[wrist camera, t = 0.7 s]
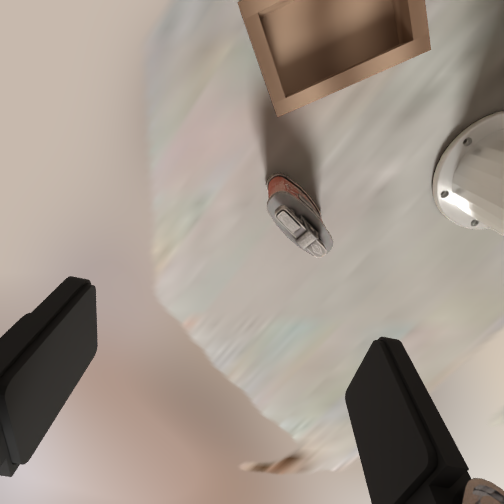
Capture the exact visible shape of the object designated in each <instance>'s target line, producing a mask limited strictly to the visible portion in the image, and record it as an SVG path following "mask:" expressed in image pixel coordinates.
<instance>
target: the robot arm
mask: <svg viewBox="0 0 504 504" xmlns="http://www.w3.org/2000/svg"><path fill="white" fill-rule="evenodd" d="M464 140H465V141H464ZM463 141H464V142H463ZM432 187H433V197H434V200H435V203H436V206H437V207H438V209H439V210H440V212H441V213H442V214H443V215H444V216H445V217H446V218H447V219H449V220H450V221H452V222H453V223H455V224H457V225H459V226H462V227H465V228H469V229H488V228H490V229H492V230H494V231H495V232H497V233H498V234H500V235H502V236H503V237H504V111H501V112H497V113H494V114H491V115H489V116H486V117H484V118H482V119H480V120H478V121H477V122H475V123H473V124H471V125H470V126H469V127H468V128H466V129H465V130H464V131H462V132H461V133H460V134H459V135H458V136H457V137H456V138H455V139H454V140H453V141H452V142H451V143H450V145H449V146H448V148H447V149H446V150H445V152H444V153H443V155H442V157H441V159H440V161H439V163H438V165H437V167H436V171H435V174H434V178H433V186H432ZM441 192H442V193H441ZM96 351H97V315H96V289H95V286H94V285H91V283H90V281H89V280H87V279H82V278H77V277H71V276H70V277H68V278H66V279H65V280H64V281H63V283H61V284H60V285H59V286H58V287H57V288H56V289H55V290H54V291H53V292H52V293H51V294H50V295H49V296H48V297H47V298H46V299H45V300H44V301H43V302H42V303H41V304H40V305H39V306H38V307H37V308H36V309H35V310H34V311H33V312H32V313H28V314H26V315H24V316H23V317H22V318H21V319H20V320H19V321H18V322H16V323H15V324H14V325H13V326H12V327H11V328H10V329H9V330H8V331H7V332H6V333H5V334H4V335H3V336H2V337H1V338H0V475H1V476H9V477H12V475H13V474H14V472H15V471H16V469H17V468H18V466H19V465H20V464H25V463H27V462H28V461H29V459H30V458H31V456H32V455H33V453H34V452H35V450H36V448H37V447H38V445H39V444H40V442H41V440H42V439H43V437H44V436H45V434H46V433H47V431H48V429H49V428H50V426H51V425H52V423H53V421H54V420H55V418H56V417H57V415H58V413H59V412H60V410H61V409H62V407H63V405H64V404H65V402H66V401H67V399H68V397H69V396H70V394H71V393H72V391H73V389H74V388H75V386H76V385H77V383H78V381H79V380H80V378H81V377H82V375H83V373H84V372H85V370H86V369H87V367H88V365H89V364H90V362H91V361H92V359H93V358H94V356H95V353H96ZM345 400H346V405H347V409H348V413H349V416H350V420H351V424H352V428H353V432H354V436H355V440H356V444H357V448H358V451H359V455H360V459H361V463H362V467H363V471H364V475H365V479H366V483H367V486H368V490H369V494H370V498H371V502H372V504H504V491H503V490H502V489H501V488H499V487H498V486H496V485H495V484H493V483H492V482H489V481H487V480H484V479H480V478H473V479H471V477H470V475H469V474H468V472H467V470H469V468H468V467H467V465H466V463H465V461H464V459H463V457H462V455H461V453H460V451H459V450H458V448H457V446H456V444H455V442H454V440H453V438H452V436H451V435H450V433H449V431H448V429H447V427H446V425H445V423H444V421H443V420H442V418H441V416H440V414H439V412H438V410H437V409H436V406H435V405H434V403H433V401H432V399H431V397H430V395H429V393H428V391H427V389H426V388H425V386H424V384H423V382H422V380H421V378H420V376H419V374H418V373H417V371H416V369H415V367H414V365H413V363H412V361H411V359H410V358H409V356H408V354H407V352H406V350H405V348H404V346H403V344H402V343H401V341H399V340H397V339H392V338H386V337H380V338H379V339H378V340H375V341H373V343H372V345H371V346H370V348H369V350H368V352H367V354H366V356H365V357H364V359H363V361H362V363H361V365H360V366H359V368H358V370H357V372H356V374H355V376H354V377H353V379H352V381H351V383H350V385H349V387H348V388H347V390H346V394H345Z"/></svg>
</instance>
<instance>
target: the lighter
mask: <svg viewBox="0 0 504 504" xmlns="http://www.w3.org/2000/svg"><path fill="white" fill-rule="evenodd" d="M266 188H267V191H268V194H269V199H268V202H267V210H268V213H269V215H270V216H271V217H272V219H273V220H274V222H275V223H276V225H277V226H278V227H279V228H280V229H281V231H282V232H283V233H284V234H285V235H286V236H287V237H288V238H289V239H290V240H291V241H293V242H294V243H295V244H296V245H297V246H299V247H300V248H301V249H303V250H305V251H306V252H308V253H309V254H311V255H313V256H315V257H316V258H321V257H323V256H324V255H325V254H327V253H328V252H329V251H330V250H331V249H332V247H333V240H332V237H331V235H330V234H329V232H328V230H327V229H326V227H325V225H324V224H323V222H322V215H321V213H320V211H319V209H318V207H317V206H316V204H315V203H314V201H313V200H312V198H311V197H310V196H309V195H308V194H307V192H306V191H305V190H304V189H303V188H302V187H301V186H299V185H298V184H297V183H296V182H295V181H294V180H292V179H291V178H289V177H288V176H287V175H285V174H283V173H275V174H273V175H271V176H270V177H269V179H268V180H267V183H266Z"/></svg>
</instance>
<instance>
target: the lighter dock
mask: <svg viewBox="0 0 504 504" xmlns="http://www.w3.org/2000/svg"><path fill="white" fill-rule="evenodd" d="M238 5H239V8H240V12H241V15H242V18H243V20H244V23H245V26H246V29H247V32H248V35H249V38H250V41H251V43H252V46H253V49H254V52H255V55H256V58H257V61H258V64H259V66H260V69H261V72H262V75H263V78H264V81H265V84H266V87H267V89H268V92H269V95H270V98H271V101H272V104H273V107H274V110H275V112H276V115H277V117H280V116H282V115H284V114H286V113H289V112H291V111H293V110H295V109H298V108H300V107H302V106H305V105H307V104H309V103H311V102H314V101H316V100H318V99H320V98H323V97H325V96H327V95H329V94H332V93H334V92H336V91H339V90H341V89H343V88H345V87H348V86H350V85H352V84H354V83H357V82H359V81H361V80H363V79H366V78H368V77H370V76H372V75H375V74H377V73H379V72H382V71H384V70H386V69H388V68H391V67H393V66H395V65H397V64H400V63H402V62H404V61H406V60H409V59H411V58H413V57H416V56H418V55H420V54H422V53H425V52H427V51H429V50H431V46H430V37H429V29H428V21H427V13H426V5H425V0H241V1H240V2H238Z"/></svg>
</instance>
